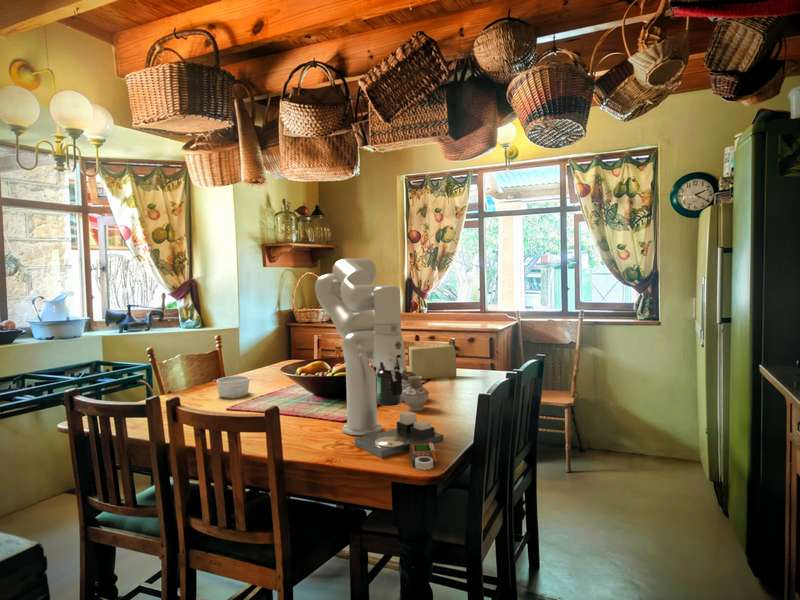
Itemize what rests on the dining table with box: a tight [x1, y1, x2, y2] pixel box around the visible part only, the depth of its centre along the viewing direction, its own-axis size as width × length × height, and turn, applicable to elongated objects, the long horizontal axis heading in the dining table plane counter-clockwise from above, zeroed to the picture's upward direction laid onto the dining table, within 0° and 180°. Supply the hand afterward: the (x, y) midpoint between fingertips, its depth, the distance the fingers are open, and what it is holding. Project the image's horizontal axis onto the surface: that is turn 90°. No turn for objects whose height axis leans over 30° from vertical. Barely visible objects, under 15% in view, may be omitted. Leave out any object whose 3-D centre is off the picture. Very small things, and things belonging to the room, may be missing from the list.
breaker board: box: [354, 420, 444, 459], centre depth 155 cm, size 14×22×4 cm, turn 126°
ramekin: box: [216, 375, 250, 399], centre depth 221 cm, size 13×13×7 cm
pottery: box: [401, 370, 429, 412], centre depth 200 cm, size 11×25×12 cm, turn 10°
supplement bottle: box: [376, 362, 402, 407], centre depth 149 cm, size 7×7×12 cm
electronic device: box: [409, 442, 439, 470], centre depth 142 cm, size 7×3×15 cm
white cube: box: [414, 419, 432, 430], centre depth 156 cm, size 4×4×4 cm
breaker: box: [399, 411, 417, 425], centre depth 161 cm, size 4×4×4 cm
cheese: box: [408, 344, 457, 380], centre depth 249 cm, size 22×10×15 cm, turn 97°
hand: (389, 392), depth 149 cm, fingers closed on supplement bottle, 6 cm apart
